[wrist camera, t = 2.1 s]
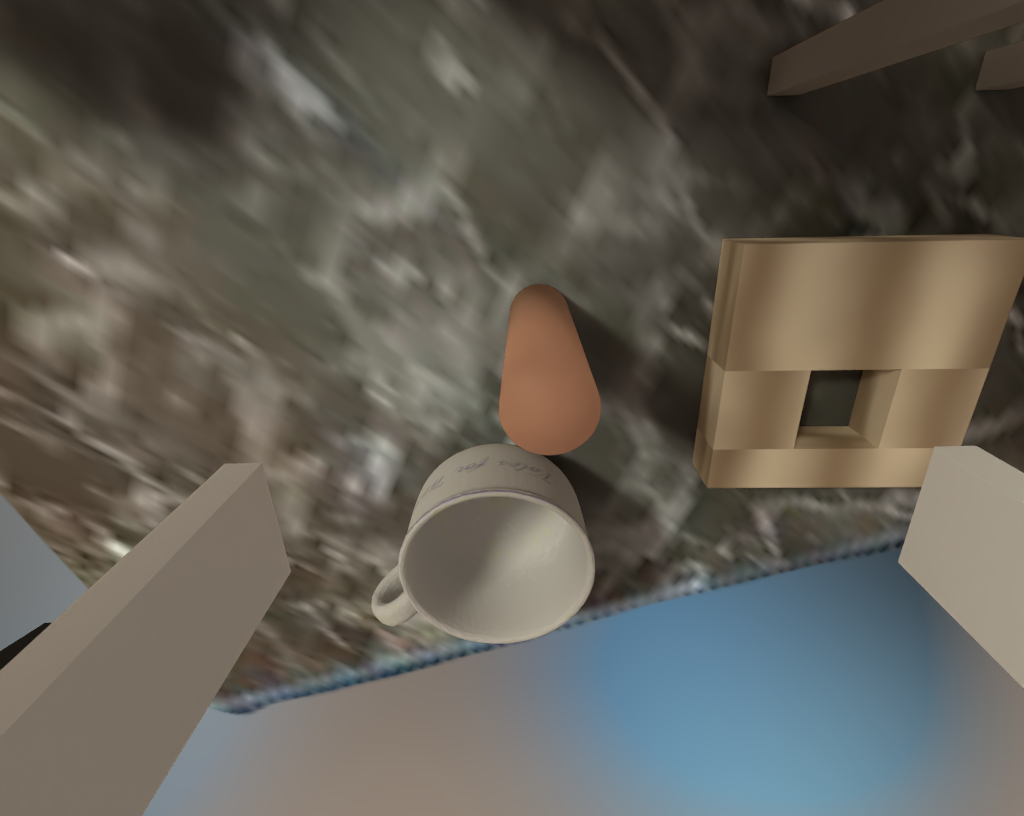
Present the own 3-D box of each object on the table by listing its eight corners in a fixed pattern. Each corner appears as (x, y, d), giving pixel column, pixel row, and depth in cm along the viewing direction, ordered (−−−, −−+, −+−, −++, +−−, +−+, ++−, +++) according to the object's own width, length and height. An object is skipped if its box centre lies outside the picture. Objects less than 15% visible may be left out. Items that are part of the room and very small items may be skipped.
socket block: (692, 463, 34) (707, 487, 31) (722, 238, 28) (744, 244, 25) (911, 461, 33) (945, 486, 30) (985, 233, 28) (1037, 239, 25)
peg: (510, 342, 31) (500, 455, 18) (509, 284, 29) (497, 362, 16) (567, 341, 31) (598, 454, 18) (569, 283, 29) (603, 360, 16)
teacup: (554, 403, 32) (563, 467, 25) (600, 538, 36) (619, 627, 29) (354, 464, 34) (308, 540, 27) (418, 585, 38) (393, 680, 31)
